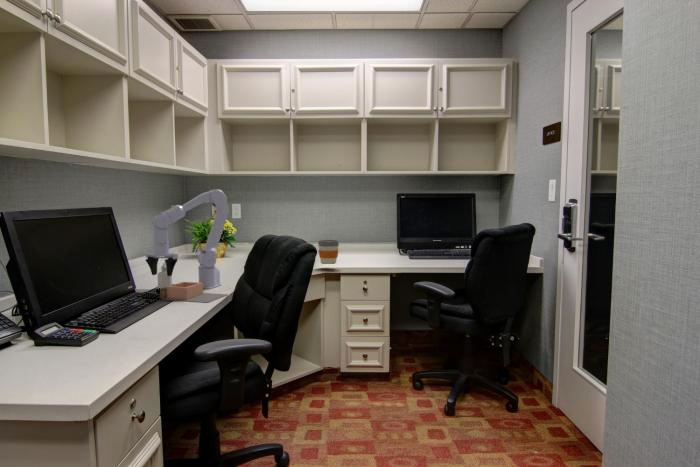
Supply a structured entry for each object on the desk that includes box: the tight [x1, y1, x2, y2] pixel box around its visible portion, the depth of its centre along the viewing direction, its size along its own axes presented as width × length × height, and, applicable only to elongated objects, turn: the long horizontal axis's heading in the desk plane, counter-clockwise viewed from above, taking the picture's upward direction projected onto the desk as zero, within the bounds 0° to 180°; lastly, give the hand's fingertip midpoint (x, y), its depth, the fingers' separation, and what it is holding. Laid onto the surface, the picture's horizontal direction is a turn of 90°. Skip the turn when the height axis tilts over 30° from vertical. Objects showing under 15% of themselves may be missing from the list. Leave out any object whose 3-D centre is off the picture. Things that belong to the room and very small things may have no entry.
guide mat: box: [163, 292, 229, 304], centre depth 163 cm, size 14×24×1 cm, turn 76°
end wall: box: [159, 287, 167, 300], centre depth 165 cm, size 13×2×4 cm, turn 166°
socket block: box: [167, 281, 204, 299], centre depth 163 cm, size 10×9×4 cm
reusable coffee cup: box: [317, 239, 339, 264], centre depth 248 cm, size 12×12×15 cm
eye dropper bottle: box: [157, 262, 173, 290], centre depth 174 cm, size 4×6×12 cm
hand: (162, 275), depth 173 cm, fingers open, 7 cm apart
